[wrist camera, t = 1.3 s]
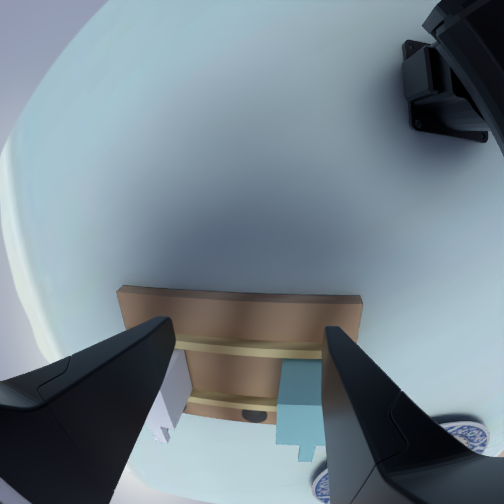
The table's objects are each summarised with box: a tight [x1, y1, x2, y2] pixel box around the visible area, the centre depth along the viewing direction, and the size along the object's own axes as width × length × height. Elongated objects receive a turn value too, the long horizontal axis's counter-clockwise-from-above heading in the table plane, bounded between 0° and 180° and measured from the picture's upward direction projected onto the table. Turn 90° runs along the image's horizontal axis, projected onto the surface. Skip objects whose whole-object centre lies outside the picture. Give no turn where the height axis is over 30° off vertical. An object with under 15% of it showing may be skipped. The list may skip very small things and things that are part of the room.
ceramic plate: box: [312, 421, 490, 504], centre depth 27 cm, size 26×26×3 cm
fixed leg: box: [145, 348, 193, 444], centre depth 22 cm, size 5×9×5 cm, turn 2°
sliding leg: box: [276, 358, 326, 462], centre depth 20 cm, size 5×9×5 cm, turn 2°
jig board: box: [116, 285, 363, 425], centre depth 23 cm, size 19×14×2 cm
